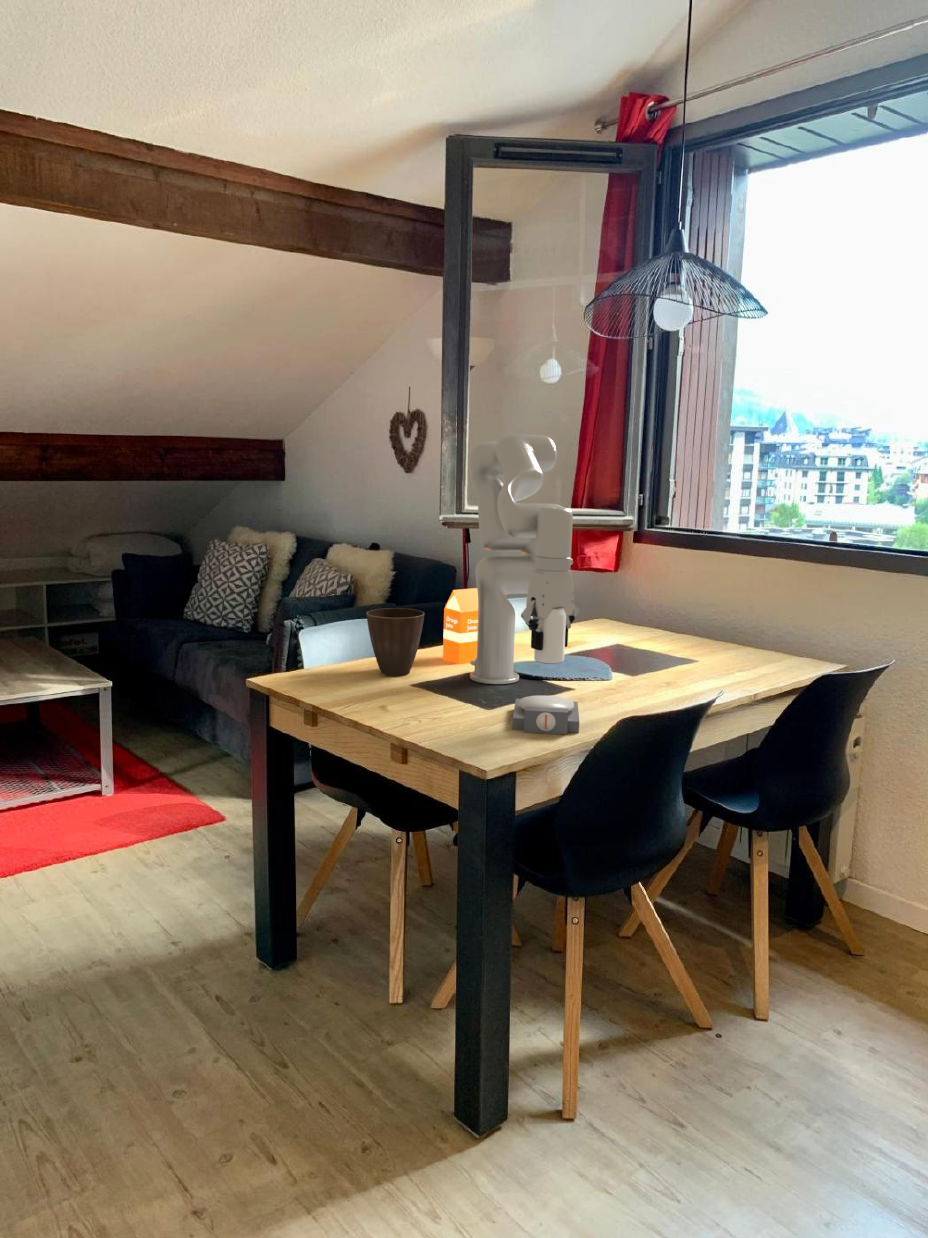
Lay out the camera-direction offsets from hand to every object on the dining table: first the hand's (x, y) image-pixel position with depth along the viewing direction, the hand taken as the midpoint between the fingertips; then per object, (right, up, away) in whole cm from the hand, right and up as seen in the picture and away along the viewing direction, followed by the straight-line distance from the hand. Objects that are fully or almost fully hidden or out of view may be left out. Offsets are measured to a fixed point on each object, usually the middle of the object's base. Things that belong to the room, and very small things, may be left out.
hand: (549, 646), depth 205 cm
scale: (-1, -16, +2) cm, 17 cm away
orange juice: (-19, -6, +60) cm, 63 cm away
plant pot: (-37, -8, +42) cm, 56 cm away
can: (0, -3, +1) cm, 3 cm away
